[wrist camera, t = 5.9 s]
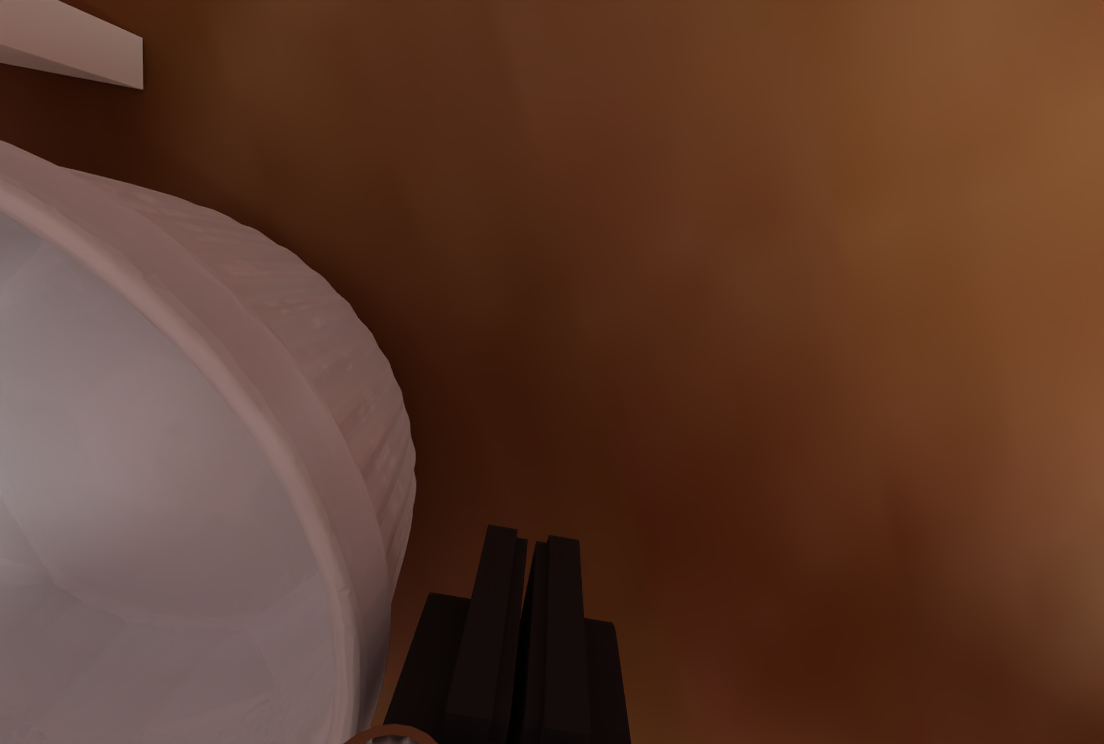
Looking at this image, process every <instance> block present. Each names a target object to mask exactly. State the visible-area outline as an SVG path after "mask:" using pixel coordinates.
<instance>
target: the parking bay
mask: <svg viewBox="0 0 1104 744" xmlns="http://www.w3.org/2000/svg"><path fill="white" fill-rule="evenodd" d="M0 63H4V64H9V65H14V66H20V67H25V68H30V69H35V70H41V71H46V72H51V73H57V74H62V75H67V76H73V77H78V78H83V79H89V80H94V81H99V82H104V83H110V84H115V85H120V86H126V87H131V88H136V89H142V90H143V39H142V37H139V36H137V35H135V34H133V33H130V32H128V31H126V30H124V29H121V28H119V27H117V26H115V25H112V24H110V23H108V22H106V21H103V20H101V19H99V18H97V17H94V16H92V15H90V14H88V13H85V12H83V11H81V10H79V9H76V8H74V7H72V6H70V5H67V4H65V3H63V2H61V1H58V0H0Z"/></svg>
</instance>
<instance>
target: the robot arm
mask: <svg viewBox="0 0 1104 744" xmlns="http://www.w3.org/2000/svg"><path fill="white" fill-rule="evenodd" d="M527 543H528V540H527V539H521V538H517V529H511V528H505V527H499V526H493V525H488V529H487V533H486V537H485V542H484V546H483V550H482V555H481V559H480V563H479V567H478V572H477V576H476V580H475V585H474V589H473V593H472V597H471V599H467V598H461V597H455V596H449V595H443V594H437V593H431V592H430V594H429V596H428V598H427V601H426V603H425V606H424V609H423V612H422V615H421V618H420V621H419V623H418V626H417V629H416V632H415V635H414V638H413V640H412V643H411V646H410V649H409V652H408V655H407V658H406V660H405V663H404V666H403V669H402V672H401V675H400V678H399V680H398V683H397V686H396V689H395V692H394V695H393V698H392V700H391V703H390V706H389V709H388V712H387V715H386V717H385V720H384V723H383V725H381V726H375V727H372V728H370V729H367V730H365V731H362V732H360V733H357V734H356V735H355V736H353V737H352V738H351V739H349V740H348V741H346V742H345V743H344V744H631V739H630V732H629V724H628V717H627V710H626V703H625V696H624V688H623V681H622V674H621V667H620V660H619V652H618V645H617V638H616V631H615V627H614V625H613V623H611V622H605V621H599V620H593V619H587V618H584V611H583V595H582V579H581V564H580V548H579V541H578V540H575V539H569V538H563V537H557V536H552V535H549V537H548V540H547V543H544V542H538V541H537V542H536V545H535V550H534V555H533V559H532V564H531V569H530V574H529V579H528V584H527V589H526V594H525V599H524V604H523V609H522V614H521V604H522V594H523V584H524V574H525V563H526V553H527ZM520 614H521V619H520Z"/></svg>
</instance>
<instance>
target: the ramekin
mask: <svg viewBox="0 0 1104 744" xmlns="http://www.w3.org/2000/svg"><path fill="white" fill-rule="evenodd" d="M415 462H416V452H415V448H414V444H413V441H412V438H411V433H410V421H409V417H408V414H407V412H406V409H405V405H404V402H403V396H402V391H401V389H400V387H399V385H398V383H397V381H396V380H395V378H394V375H393V372H392V369H391V366H390V363H389V361H388V360H387V358H386V357H385V355H384V354H383V353H382V351H381V350H380V349H379V347H378V345H377V343H376V341H375V339H374V337H373V334H372V333H371V332H370V330H369V329H368V328H367V327H366V326H365V325H364V324H363V323H362V322H361V321H360V320H359V318H358V317H357V315H356V314H355V312H354V310H353V308H352V307H351V305H350V304H349V303H348V302H347V301H346V300H345V299H344V298H343V297H342V296H340V295H339V294H338V293H337V292H336V291H335V290H334V289H333V288H332V286H331V285H330V284H329V283H328V282H327V280H326V279H325V278H324V277H323V276H321V275H320V274H319V273H317V272H316V271H314V270H312V269H311V268H310V267H309V266H307V265H306V264H305V263H304V262H303V261H302V260H301V259H300V258H299V257H298V256H297V255H296V254H294V253H293V252H291V251H290V250H288V249H287V248H284V247H282V246H280V245H278V244H276V243H275V242H273V241H272V240H270V239H269V238H268V237H266V236H265V235H264V234H262V233H261V232H259V231H258V230H256V229H254V228H251V227H249V226H245V225H242V224H240V223H238V222H237V221H235V220H234V219H232V218H230V217H229V216H226V215H224V214H222V213H220V212H218V211H215V210H213V209H210V208H206V207H203V206H199V205H196V204H193V203H191V202H189V201H186V200H184V199H181V198H178V197H175V196H172V195H169V194H165V193H162V192H158V191H155V190H151V189H147V188H144V187H140V186H137V185H133V184H130V183H126V182H122V181H118V180H114V179H110V178H106V177H102V176H98V175H94V174H90V173H86V172H82V171H78V170H74V169H69V168H64V167H60V166H57V165H55V164H53V163H51V162H49V161H46V160H44V159H42V158H40V157H38V156H36V155H33V154H31V153H29V152H27V151H25V150H22V149H20V148H18V147H16V146H14V145H12V144H9V143H6V142H4V141H1V140H0V744H344V743H345V742H346V741H348V740H349V739H351V738H352V737H353V736H355V735H356V734H357V733H360V732H362V731H365V730H367V729H369V726H370V723H371V721H372V718H373V715H374V712H375V710H376V707H377V704H378V701H379V697H380V693H381V690H382V685H383V680H384V675H385V670H386V664H387V658H388V650H389V642H390V626H391V603H392V599H393V595H394V591H395V588H396V584H397V581H398V577H399V573H400V570H401V566H402V563H403V559H404V555H405V552H406V547H407V543H408V539H409V534H410V530H411V523H412V517H413V505H414V501H415V495H416V477H415V473H414V467H415Z"/></svg>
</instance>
